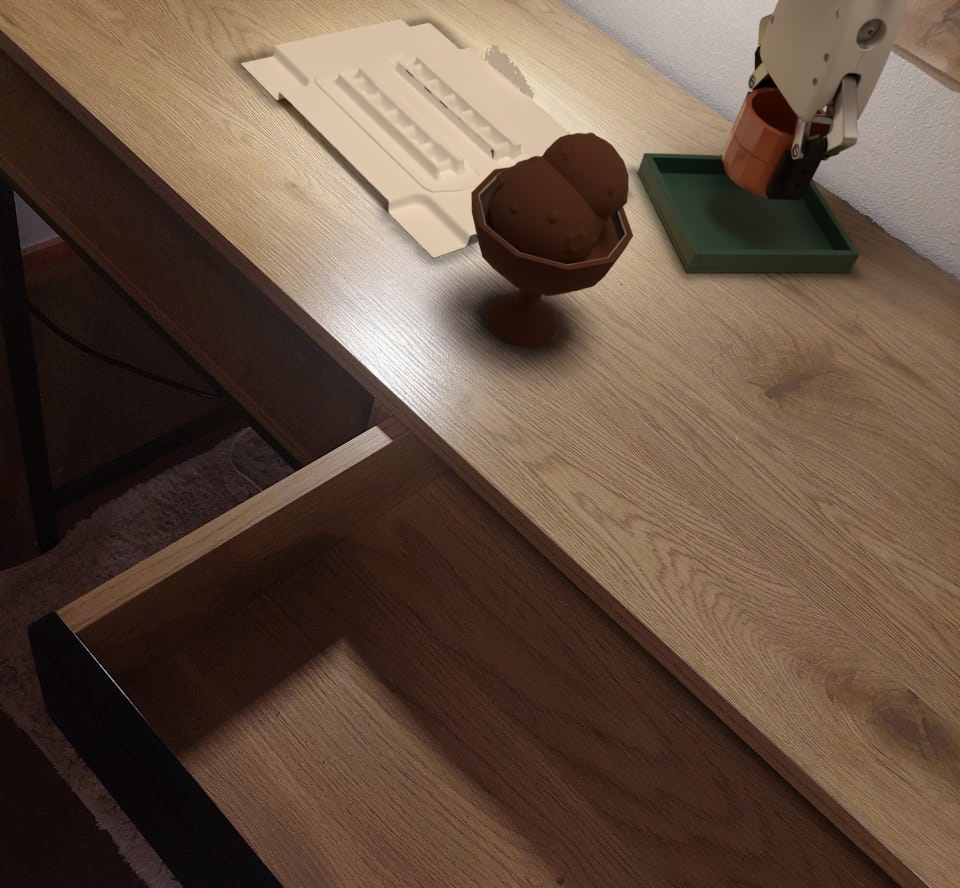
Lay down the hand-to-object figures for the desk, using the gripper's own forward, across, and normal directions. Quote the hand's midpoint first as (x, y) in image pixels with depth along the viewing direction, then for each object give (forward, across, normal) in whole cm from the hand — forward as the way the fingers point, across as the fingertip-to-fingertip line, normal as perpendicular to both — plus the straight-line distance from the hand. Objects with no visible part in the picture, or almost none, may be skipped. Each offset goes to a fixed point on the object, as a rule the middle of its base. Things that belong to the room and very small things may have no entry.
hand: (765, 165), depth 87 cm
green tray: (+5, 0, 0) cm, 5 cm away
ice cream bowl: (+6, -12, +23) cm, 26 cm away
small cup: (+1, 0, 0) cm, 1 cm away
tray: (+6, +12, +25) cm, 28 cm away
